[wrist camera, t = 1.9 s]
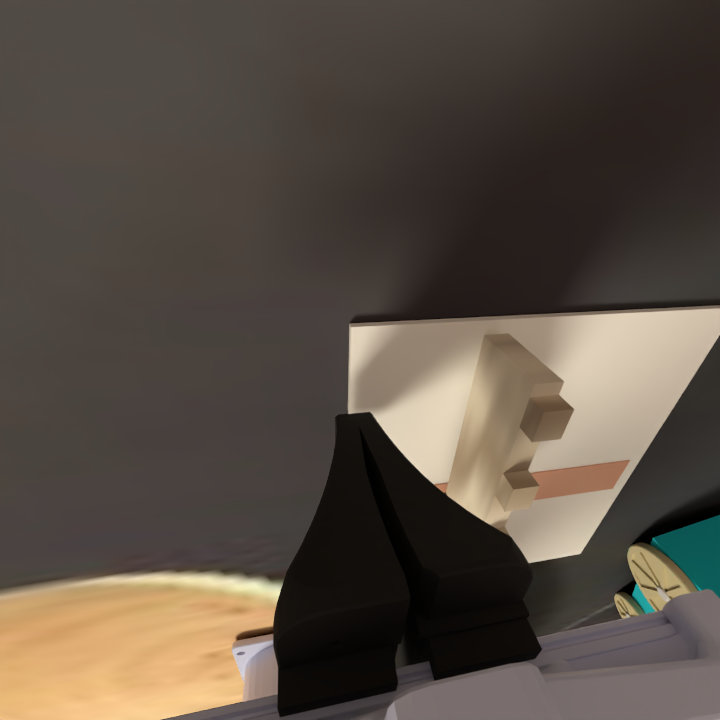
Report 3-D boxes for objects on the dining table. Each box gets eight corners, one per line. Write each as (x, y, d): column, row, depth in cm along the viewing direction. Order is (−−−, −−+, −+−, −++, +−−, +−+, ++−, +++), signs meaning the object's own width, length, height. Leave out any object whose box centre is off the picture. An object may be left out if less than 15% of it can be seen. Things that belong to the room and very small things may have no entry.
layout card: (577, 549, 26) (580, 554, 25) (344, 590, 23) (345, 596, 22) (730, 304, 16) (738, 307, 15) (349, 323, 13) (350, 327, 12)
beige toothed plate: (464, 489, 18) (503, 566, 15) (445, 492, 18) (481, 570, 15) (508, 333, 13) (580, 395, 10) (484, 334, 13) (549, 398, 10)
